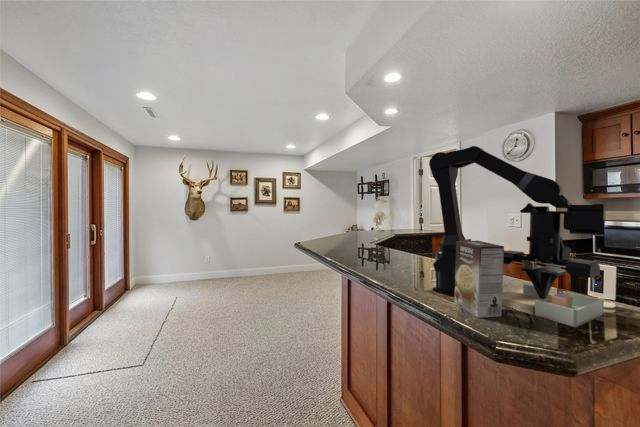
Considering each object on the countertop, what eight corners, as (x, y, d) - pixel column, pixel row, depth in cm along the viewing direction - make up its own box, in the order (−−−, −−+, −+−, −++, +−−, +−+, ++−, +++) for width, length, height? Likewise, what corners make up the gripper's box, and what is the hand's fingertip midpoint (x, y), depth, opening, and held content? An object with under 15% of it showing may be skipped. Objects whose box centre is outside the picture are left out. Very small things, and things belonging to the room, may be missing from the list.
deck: (493, 303, 76) (493, 295, 76) (522, 294, 83) (522, 287, 83) (532, 314, 69) (533, 306, 68) (561, 304, 76) (561, 296, 75)
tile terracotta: (552, 296, 68) (565, 299, 66) (559, 293, 70) (572, 296, 68) (551, 313, 68) (564, 317, 66) (558, 310, 70) (571, 313, 68)
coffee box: (452, 304, 75) (454, 240, 75) (475, 303, 76) (477, 240, 76) (477, 318, 66) (479, 246, 66) (503, 316, 67) (505, 245, 67)
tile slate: (523, 293, 78) (523, 284, 78) (531, 291, 80) (531, 282, 80) (540, 298, 74) (540, 288, 74) (548, 295, 76) (548, 285, 76)
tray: (534, 315, 68) (535, 300, 68) (563, 304, 75) (563, 291, 75) (576, 327, 62) (576, 310, 62) (603, 314, 69) (603, 299, 68)
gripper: (611, 234, 66) (608, 304, 67) (519, 228, 82) (518, 284, 83) (590, 237, 61) (587, 313, 61) (496, 230, 77) (495, 290, 77)
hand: (542, 298), depth 71 cm, fingers closed
